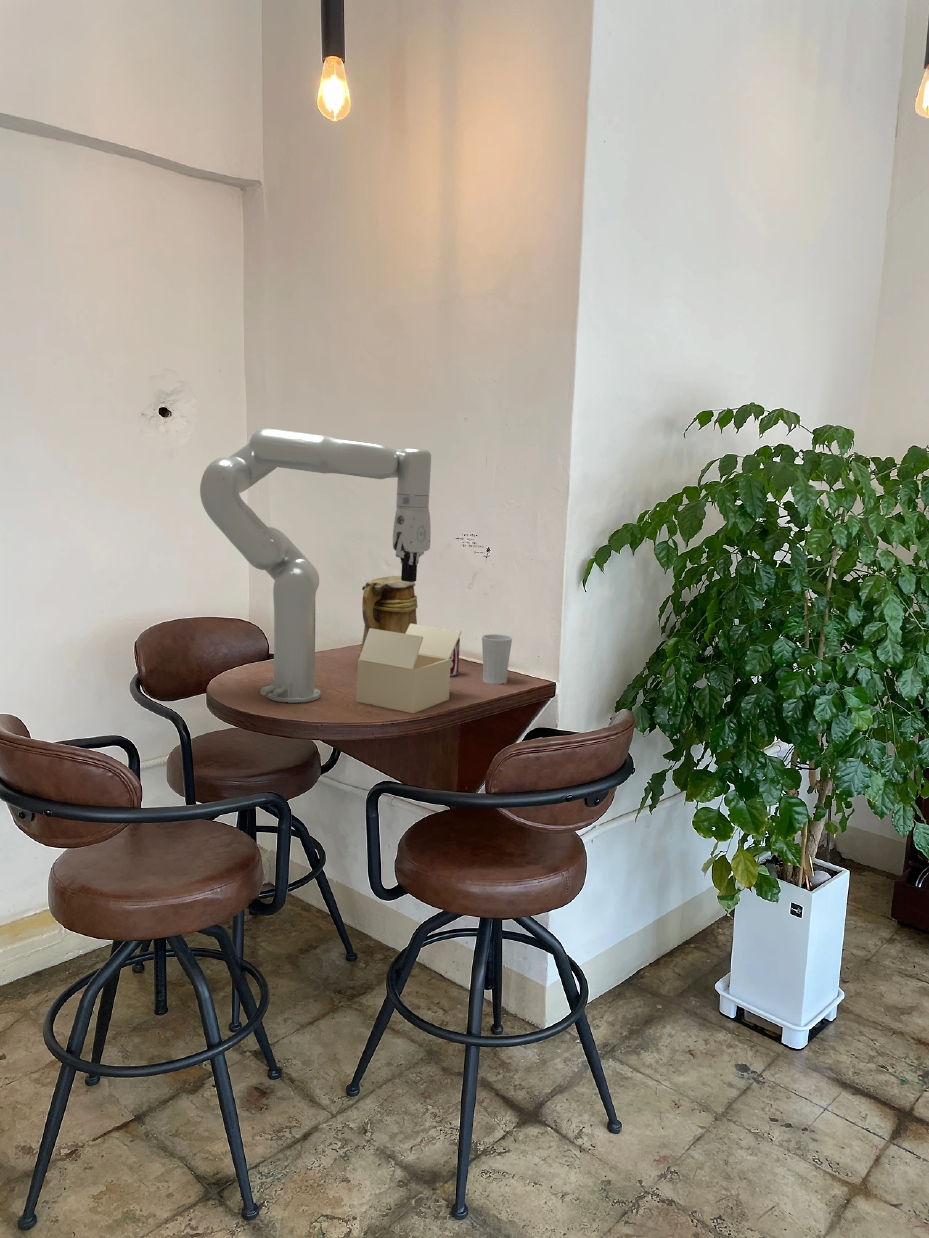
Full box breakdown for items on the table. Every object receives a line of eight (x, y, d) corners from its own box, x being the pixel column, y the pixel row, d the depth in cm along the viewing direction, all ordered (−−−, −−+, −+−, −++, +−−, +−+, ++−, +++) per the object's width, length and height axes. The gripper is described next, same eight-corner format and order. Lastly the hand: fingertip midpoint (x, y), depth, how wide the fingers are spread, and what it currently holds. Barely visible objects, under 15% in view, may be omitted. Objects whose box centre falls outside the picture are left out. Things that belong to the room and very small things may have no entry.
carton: (413, 713, 205) (415, 670, 203) (356, 701, 212) (357, 660, 211) (448, 699, 218) (450, 659, 217) (394, 688, 226) (395, 649, 224)
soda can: (428, 674, 244) (430, 630, 242) (444, 670, 249) (446, 628, 247) (446, 678, 239) (448, 634, 237) (463, 675, 244) (465, 631, 242)
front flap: (370, 628, 213) (369, 628, 212) (423, 637, 205) (422, 636, 205) (359, 660, 210) (358, 659, 210) (412, 669, 203) (411, 669, 203)
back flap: (460, 631, 220) (461, 632, 221) (410, 623, 228) (411, 624, 228) (448, 658, 217) (449, 659, 217) (397, 649, 224) (398, 650, 224)
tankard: (433, 664, 256) (437, 577, 251) (393, 680, 235) (397, 586, 230) (378, 656, 263) (381, 571, 259) (334, 671, 242) (337, 579, 238)
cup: (513, 684, 236) (515, 640, 234) (483, 685, 234) (486, 640, 232) (505, 677, 244) (507, 634, 242) (476, 677, 242) (478, 634, 240)
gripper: (409, 504, 200) (405, 585, 203) (442, 503, 213) (438, 580, 216) (381, 501, 203) (377, 582, 206) (415, 501, 216) (411, 576, 219)
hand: (408, 581), depth 211 cm, fingers closed
